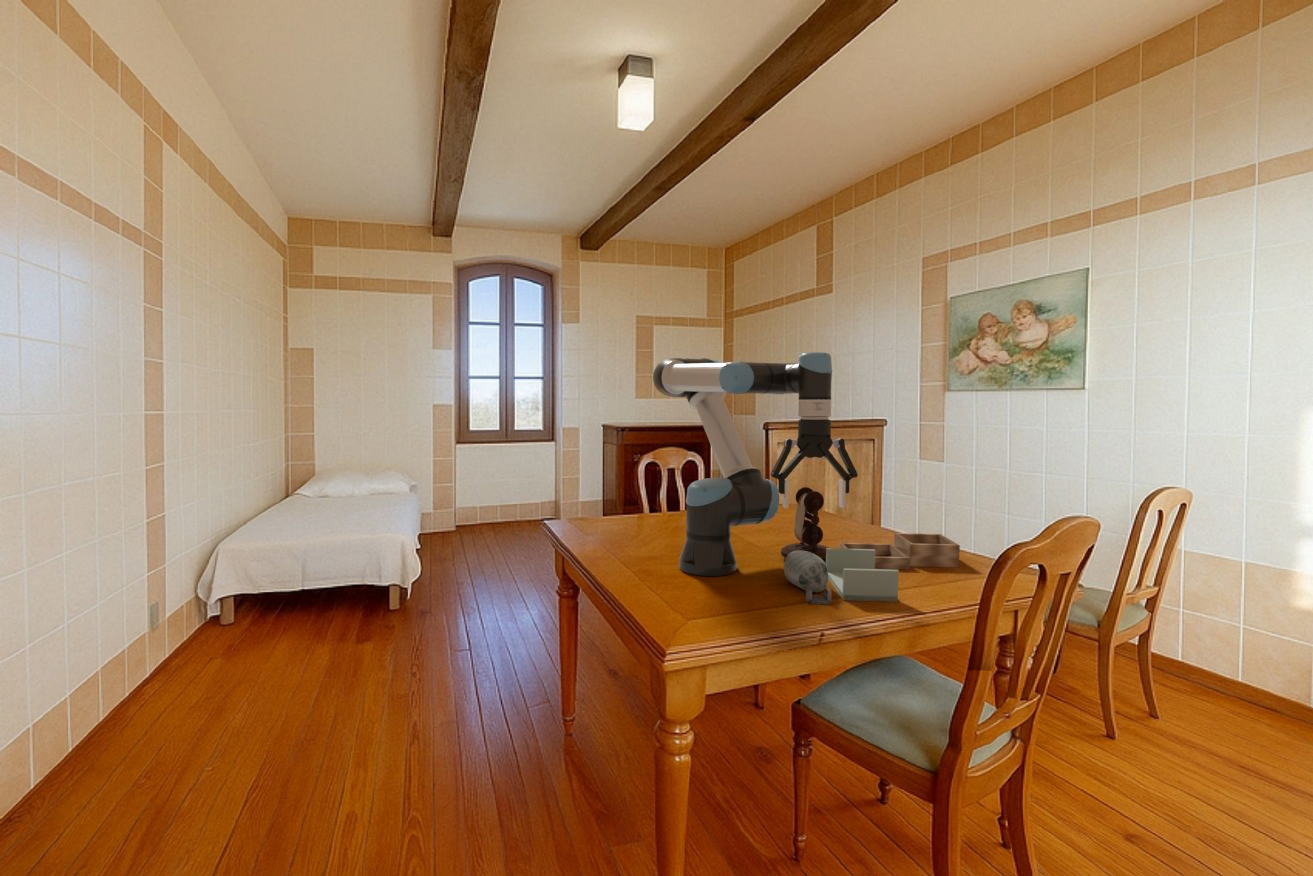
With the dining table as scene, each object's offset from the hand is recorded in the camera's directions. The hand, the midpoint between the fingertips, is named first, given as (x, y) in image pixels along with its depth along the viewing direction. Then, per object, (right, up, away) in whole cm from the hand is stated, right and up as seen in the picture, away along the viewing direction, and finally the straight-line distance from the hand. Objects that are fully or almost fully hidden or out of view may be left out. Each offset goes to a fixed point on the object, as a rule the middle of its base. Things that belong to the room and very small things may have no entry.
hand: (813, 507), depth 150 cm
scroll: (+4, -18, +24) cm, 30 cm away
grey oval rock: (-2, -20, +2) cm, 20 cm away
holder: (+11, -19, +1) cm, 22 cm away
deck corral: (+22, -18, +24) cm, 38 cm away
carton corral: (+38, -18, +26) cm, 49 cm away
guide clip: (-1, -20, -9) cm, 22 cm away
